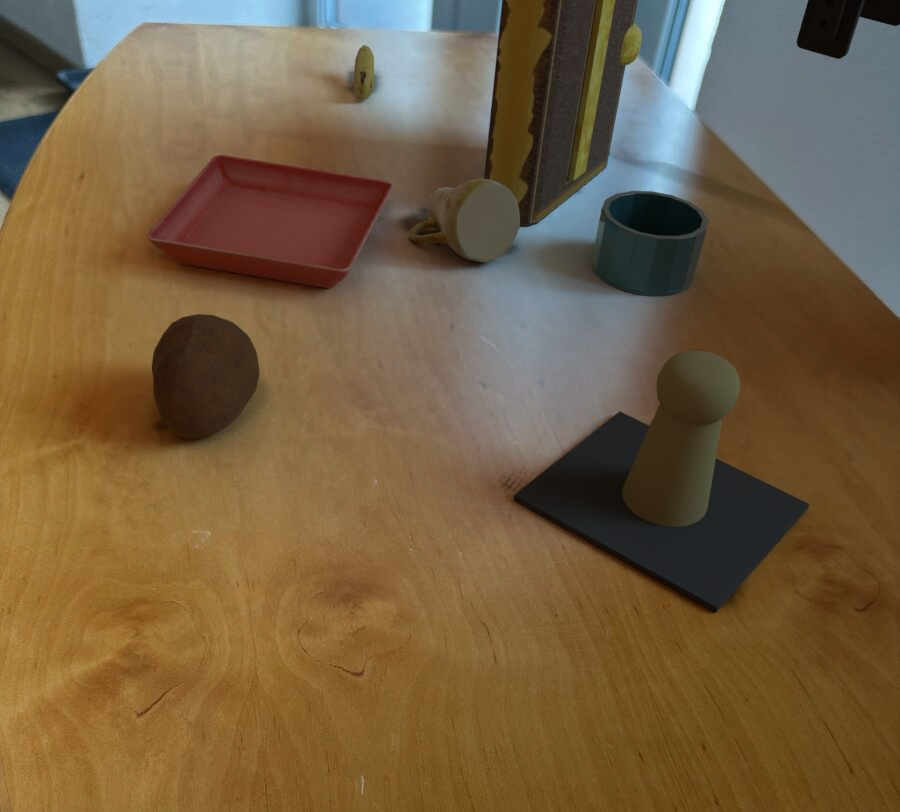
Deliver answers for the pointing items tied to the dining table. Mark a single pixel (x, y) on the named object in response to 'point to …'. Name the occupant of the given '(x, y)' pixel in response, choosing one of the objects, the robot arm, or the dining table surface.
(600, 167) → the book
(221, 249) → the plant saucer
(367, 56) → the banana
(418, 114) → the dining table surface
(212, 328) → the potato
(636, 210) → the crock
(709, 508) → the mat
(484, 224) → the mug
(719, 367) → the olive pawn piece
